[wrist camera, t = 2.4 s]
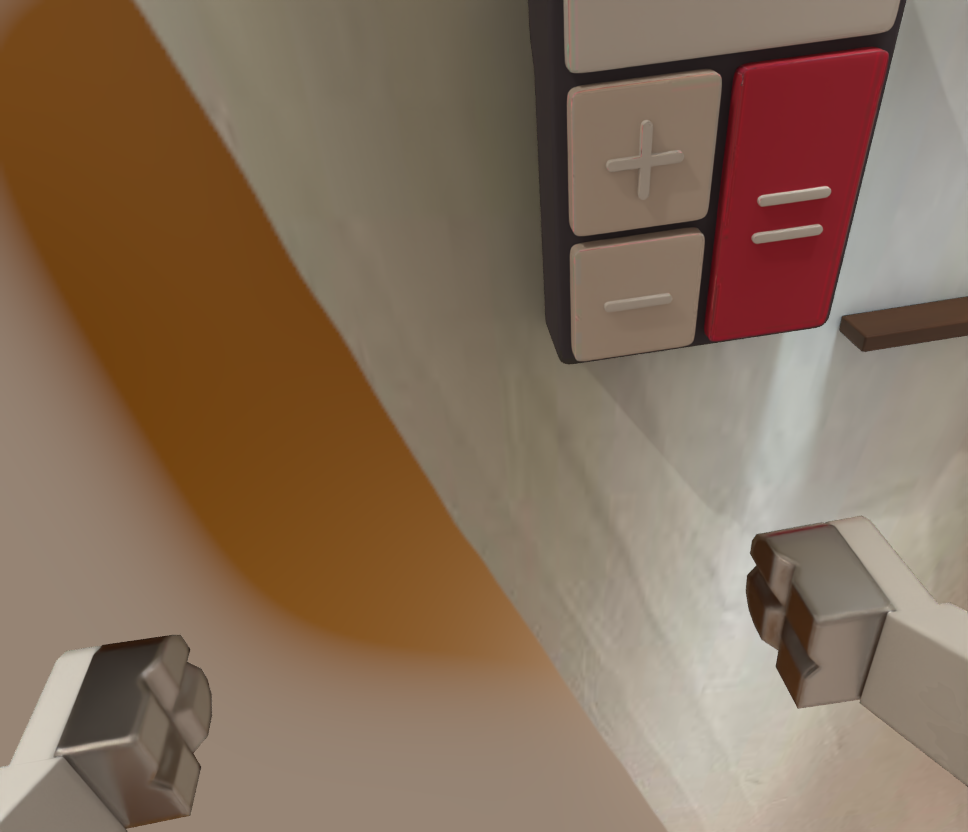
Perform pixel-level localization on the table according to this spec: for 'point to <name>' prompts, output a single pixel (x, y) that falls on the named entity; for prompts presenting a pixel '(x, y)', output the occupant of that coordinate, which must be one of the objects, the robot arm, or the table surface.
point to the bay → (907, 324)
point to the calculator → (700, 164)
